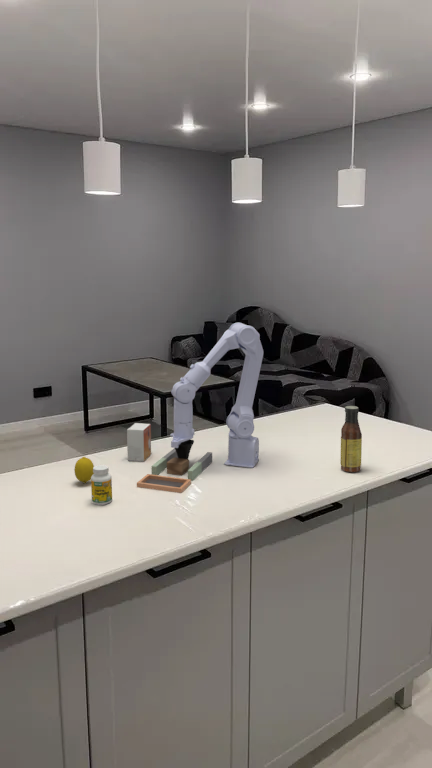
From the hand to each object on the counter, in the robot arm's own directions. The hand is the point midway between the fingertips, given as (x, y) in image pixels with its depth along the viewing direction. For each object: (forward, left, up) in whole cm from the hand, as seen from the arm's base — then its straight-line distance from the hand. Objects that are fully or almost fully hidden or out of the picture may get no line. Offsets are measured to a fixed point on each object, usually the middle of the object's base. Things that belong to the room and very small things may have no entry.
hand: (183, 463), depth 186 cm
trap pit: (0, +15, -1) cm, 15 cm away
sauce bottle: (-49, -16, -2) cm, 51 cm away
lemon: (+22, +21, -2) cm, 31 cm away
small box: (+17, -5, -2) cm, 18 cm away
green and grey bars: (0, 0, -1) cm, 1 cm away
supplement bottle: (+11, +31, -2) cm, 33 cm away
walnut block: (0, +4, -1) cm, 4 cm away
